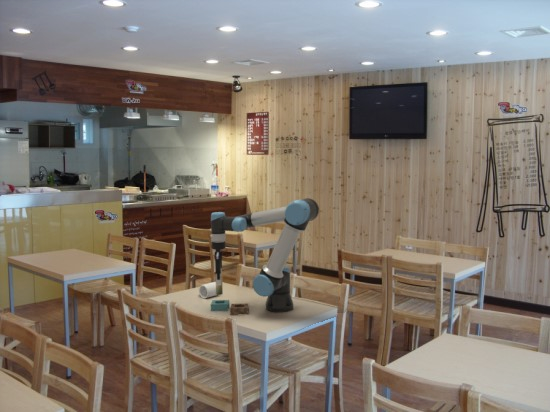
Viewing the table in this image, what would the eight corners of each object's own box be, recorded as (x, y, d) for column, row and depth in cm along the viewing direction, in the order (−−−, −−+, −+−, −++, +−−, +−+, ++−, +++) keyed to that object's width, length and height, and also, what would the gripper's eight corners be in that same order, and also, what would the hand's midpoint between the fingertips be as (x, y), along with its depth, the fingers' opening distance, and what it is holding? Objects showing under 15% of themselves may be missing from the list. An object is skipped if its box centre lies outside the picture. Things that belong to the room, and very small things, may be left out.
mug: (220, 296, 337) (220, 282, 336) (207, 299, 329) (207, 285, 329) (207, 292, 345) (207, 279, 344) (194, 296, 338) (194, 282, 337)
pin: (222, 293, 311) (222, 267, 310) (222, 294, 308) (221, 269, 306) (216, 293, 311) (215, 267, 310) (215, 294, 308) (215, 269, 306)
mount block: (248, 309, 307) (248, 303, 306) (247, 314, 298) (247, 308, 297) (231, 310, 307) (231, 303, 306) (230, 314, 298) (230, 308, 297)
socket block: (229, 306, 315) (229, 299, 314) (227, 310, 306) (227, 304, 305) (212, 306, 315) (212, 300, 314) (210, 310, 306) (210, 304, 305)
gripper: (213, 238, 315) (213, 280, 317) (209, 243, 298) (210, 288, 301) (226, 238, 315) (227, 280, 317) (224, 243, 298) (224, 288, 301)
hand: (219, 284), depth 309 cm, fingers closed on pin, 3 cm apart
